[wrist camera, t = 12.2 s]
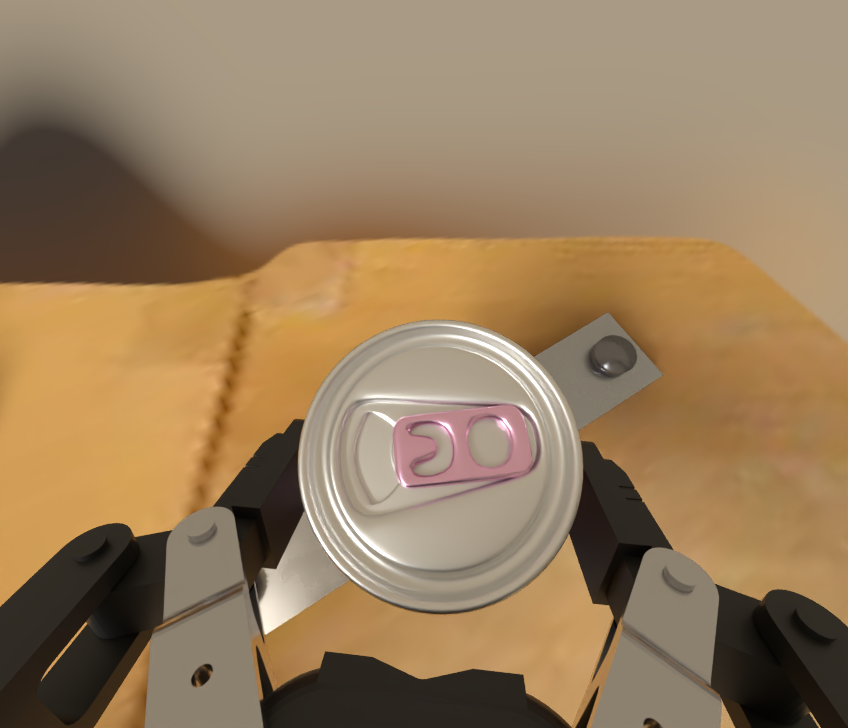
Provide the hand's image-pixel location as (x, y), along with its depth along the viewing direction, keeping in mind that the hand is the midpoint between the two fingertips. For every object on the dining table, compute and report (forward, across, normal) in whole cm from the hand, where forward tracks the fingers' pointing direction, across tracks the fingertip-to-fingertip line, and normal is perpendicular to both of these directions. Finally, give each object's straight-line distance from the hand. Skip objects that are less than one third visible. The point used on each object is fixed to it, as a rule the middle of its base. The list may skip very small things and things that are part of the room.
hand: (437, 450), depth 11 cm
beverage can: (+7, 0, +8) cm, 10 cm away
